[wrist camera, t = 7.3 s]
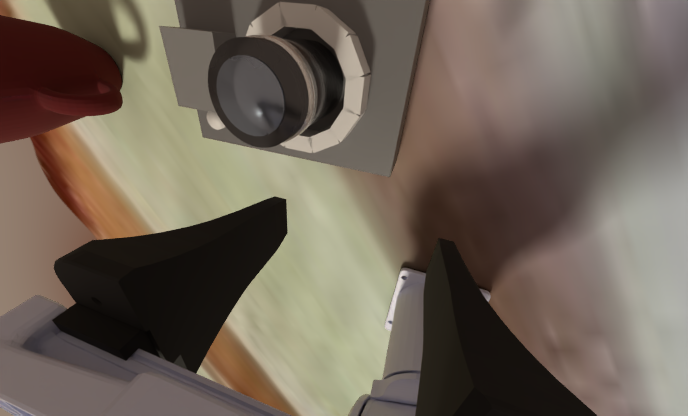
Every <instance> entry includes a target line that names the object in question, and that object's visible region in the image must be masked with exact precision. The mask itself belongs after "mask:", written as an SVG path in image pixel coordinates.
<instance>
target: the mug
mask: <svg viewBox="0 0 688 416" xmlns="http://www.w3.org/2000/svg"><path fill="white" fill-rule="evenodd" d="M121 86H122V79H121V75H120V72H119V69H118V67H117V65H116V63H115V62H114V60H113V59H112V58H111V56H110V55H109V54H108V53H107V52H106V51H105V50H103V49H102V48H101V47H99V46H97V45H95V44H93V43H91V42H89V41H87V40H85V39H83V38H80V37H78V36H76V35H74V34H72V33H70V32H67V31H65V30H62V29H59V28H56V27H53V26H49V25H45V24H40V23H35V22H30V21H26V20H21V19H16V18H11V17H6V16H1V15H0V143H5V142H10V141H15V140H19V139H24V138H28V137H32V136H36V135H39V134H42V133H45V132H47V131H50V130H52V129H55V128H58V127H60V126H63V125H65V124H68V123H70V122H73V121H75V120H78V119H80V118H83V117H85V116H97V115H104V114H109V113H112V112H115V111H117V110H118V109H120V108H121V106H122V103H123V101H122V95H121V93H120V89H121Z"/></svg>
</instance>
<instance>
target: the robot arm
mask: <svg viewBox="0 0 688 416" xmlns="http://www.w3.org/2000/svg"><path fill="white" fill-rule="evenodd" d="M286 234H287V209H286V199H282V198H279V197H272V198H269V199H266V200H264V201H261V202H259V203H256V204H254V205H251V206H249V207H246V208H244V209H241V210H239V211H236V212H234V213H231V214H228V215H225V216H222V217H220V218H217V219H214V220H211V221H208V222H204V223H201V224H197V225H193V226H190V227H185V228H181V229H176V230H171V231H166V232H161V233H155V234H149V235H142V236H135V237H127V238H115V239H104V240H92V241H90V242H88V243H87V244H85V245H83V246H81V247H79V248H77V249H76V250H74V251H72V252H70V253H68V254H66V255H65V256H63V257H61V258H59V259H58V260H56V261H55V264H54V270H55V273H56V275H57V276H58V278H59V279H60V281H61V282H62V284H63V285H64V286H65V288H66V289H67V291H68V292H69V294H70V295H71V296H72V298H73V299H74V300H75V302H76V304H74V305H73V306H71V307H70V308H69V309H66V308H65V307H64V306H63V305H61V304H59V303H57V302H55V301H53V300H50V299H48V298H46V297H43V296H41V295H35V296H34V297H32V298H30V299H28V300H27V301H25V302H23V303H22V304H20V305H19V306H17V307H15V308H14V309H12V310H10V311H9V312H7V313H5V314H4V315H2V316H1V317H0V407H1V408H2V409H4V410H6V411H7V412H9V413H11V414H12V415H14V416H291V415H289V414H287V413H284V412H282V411H280V410H278V409H275V408H273V407H271V406H268V405H266V404H264V403H262V402H259V401H257V400H255V399H253V398H250V397H248V396H246V395H243V394H241V393H239V392H237V391H234V390H232V389H230V388H228V387H225V386H223V385H221V384H218V383H216V382H214V381H212V380H209V379H207V378H205V377H203V376H200V375H198V374H196V373H197V371H198V369H199V367H200V365H201V363H202V361H203V359H204V358H205V356H206V354H207V352H208V350H209V348H210V346H211V345H212V343H213V341H214V339H215V338H216V336H217V334H218V332H219V331H220V329H221V327H222V325H223V324H224V322H225V321H226V319H227V317H228V316H229V314H230V312H231V311H232V309H233V307H234V306H235V304H236V303H237V301H238V300H239V298H240V297H241V295H242V294H243V292H244V291H245V289H246V288H247V287H248V285H249V284H250V283H251V281H252V280H253V279H254V278H255V277H256V275H257V274H258V273H259V272H260V270H261V269H262V268H263V267H264V266H265V264H266V263H267V262H268V261H269V259H270V258H271V257H272V256H273V254H274V253H275V252H276V251H277V249H278V248H279V246H280V245H281V243H282V241H283V240H284V238H285V236H286ZM403 276H406V277H403ZM490 297H491V296H490V293H489V292H488V291H486V290H483V289H480V288H478V286H477V284H476V283H475V281H474V279H473V278H472V276H471V274H470V272H469V271H468V269H467V267H466V265H465V263H464V261H463V259H462V257H461V255H460V253H459V251H458V249H457V247H456V245H455V243H454V242H453V241H449V240H445V239H441V238H438V241H437V244H436V247H435V249H434V252H433V255H432V258H431V260H430V263H429V266H428V269H427V271H426V273H423V272H419V271H416V270H412V269H409V268H402V269H401V270H400V273H399V277H398V280H397V284H396V287H395V291H394V294H393V298H392V301H391V305H390V308H389V311H388V315H387V318H386V322H385V328H386V329H387V330H390V331H391V334H390V339H389V345H388V350H387V356H386V361H385V367H384V373H383V378H382V380H373V385H372V390H371V395H369V394H365V395H362V396H361V397H360V398H359V399H358V400H357V401H356V403H355V405H354V406H353V407H352V409H351V410H350V412H349V414H348V416H597V415H596V414H595V413H594V412H593V411H592V410H591V409H589V408H588V407H587V406H586V405H585V404H584V403H583V402H582V401H580V400H579V399H578V398H577V397H576V396H575V395H574V394H573V393H571V392H570V391H569V390H568V389H567V388H566V387H565V386H564V385H562V384H561V383H560V382H559V381H558V380H557V379H556V378H555V377H554V376H553V375H552V374H551V373H550V372H549V371H548V370H547V369H546V368H545V367H544V366H543V365H542V364H541V363H540V362H539V361H538V360H537V359H536V358H535V357H534V356H533V355H532V354H531V353H530V352H529V351H528V350H527V349H526V348H525V347H524V346H523V344H522V343H521V342H520V341H519V340H518V339H517V338H516V337H515V335H514V334H513V333H512V332H511V331H510V330H509V329H508V327H507V326H506V325H505V324H504V323H503V321H502V320H501V319H500V317H499V316H498V315H497V314H496V312H495V311H494V310H493V308H492V307H491V306H490V304H489V303H488V301H489V300H490Z"/></svg>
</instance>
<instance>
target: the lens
mask: <svg viewBox="0 0 688 416" xmlns="http://www.w3.org/2000/svg"><path fill="white" fill-rule="evenodd" d="M208 88H209V94H210V98H211V101H212V104H213V106H214V109H215V111H216V113H217V115H218V116H219V118H220V120H221V121H222V123H223V124H224V125H225V126H226V128H227V129H228V130H229V131H230V132H231V133H232V134H233V135H234V136H236V137H237V138H238V139H240V140H241V141H243V142H245V143H247V144H249V145H252V146H255V147H260V148H269V147H274V146H277V145H279V144H281V143H284V142H287V141H289V140H291V139H293V138H295V137H296V136H298V135H299V134H301V133H302V132H304V131H305V130H306V129H307V128H308V127H309V126H310V125H312V124H313V123H315V122H317V121H318V120H320V119H322V118H323V117H325V116H326V115H328V114H330V113H331V112H332V111H333V110H334V109H335V108H336V106H337V105H338V103H339V101H340V98H341V95H342V90H343V77H342V71H341V68H340V65H339V63H338V61H337V59H336V57H335V56H334V55H333V53H332V52H331V51H330V50H329V49H328V48H327V47H326V46H324V45H323V44H321V43H319V42H317V41H313V40H306V39H282V38H279V37H276V36H270V35H249V36H246V37H236V38H232V39H230V40H227V41H225V42H224V43H223V44H221V45H220V46H219V47H218V48H217V50H216V51H215V53H214V54H213V56H212V59H211V61H210V65H209V69H208Z"/></svg>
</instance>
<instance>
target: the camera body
mask: <svg viewBox="0 0 688 416" xmlns="http://www.w3.org/2000/svg"><path fill="white" fill-rule="evenodd" d="M429 2H430V0H175V5H176V10H177V14H178V19H179V24H180V27H166V26H159V27H160V31H161V35H162V39H163V43H164V48H165V52H166V56H167V60H168V64H169V68H170V72H171V76H172V81H173V85H174V89H175V93H176V97H177V101H178V105H179V106H182V107H188V108H193V109H197V111H198V116H199V121H200V126H201V131H202V135H203V137H204V138H209V139H214V140H218V141H223V142H228V143H232V144H237V145H242V146H246V147H251V148H256V149H260V150H265V151H270V152H274V153H279V154H284V155H288V156H293V157H298V158H302V159H307V160H312V161H316V162H321V163H326V164H330V165H335V166H340V167H344V168H349V169H354V170H358V171H363V172H368V173H372V174H377V175H382V176H387V177H390V176H391V173H392V171H393V168H394V166H395V163H396V160H397V155H398V151H399V146H400V141H401V136H402V131H403V127H404V122H405V117H406V112H407V108H408V103H409V98H410V93H411V88H412V84H413V79H414V74H415V69H416V65H417V60H418V55H419V50H420V45H421V41H422V36H423V31H424V26H425V22H426V17H427V12H428V7H429ZM249 35H270V36H276V37H279V38H282V39H306V40H313V41H317V42H319V43H321V44H323V45H324V46H326V47H327V48H328V49H329V50H330V51H331V52H332V53H333V55H334V56H335V57H336V59H337V61H338V63H339V65H340V68H341V71H342V77H343V90H342V95H341V98H340V101H339V103H338V105H337V106H336V108H335V109H334V110H333V111H332V112H331V113H330V114H328V115H326V116H325V117H323V118H322V119H320V120H318V121H317V122H315V123H313V124H312V125H310V126H309V127H308V128H307V129H306V130H305V131H304V132H302V133H301V134H299V135H298V136H296V137H295V138H293V139H291V140H289V141H287V142H284V143H281V144H279V145H277V146H274V147H269V148H260V147H255V146H252V145H249V144H247V143H245V142H243V141H241V140H240V139H238V138H237V137H236V136H234V135H233V134H232V133H231V132H230V131H229V130H228V129H227V128H226V126H225V125H224V124H223V123H222V121H221V120H220V118H219V116H218V115H217V113H216V111H215V109H214V106H213V104H212V101H211V98H210V94H209V88H208V69H209V65H210V61H211V59H212V56H213V54H214V53H215V51H216V50H217V48H218V47H219V46H220V45H221V44H223V43H224V42H225V41H227V40H230V39H232V38H236V37H246V36H249Z"/></svg>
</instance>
